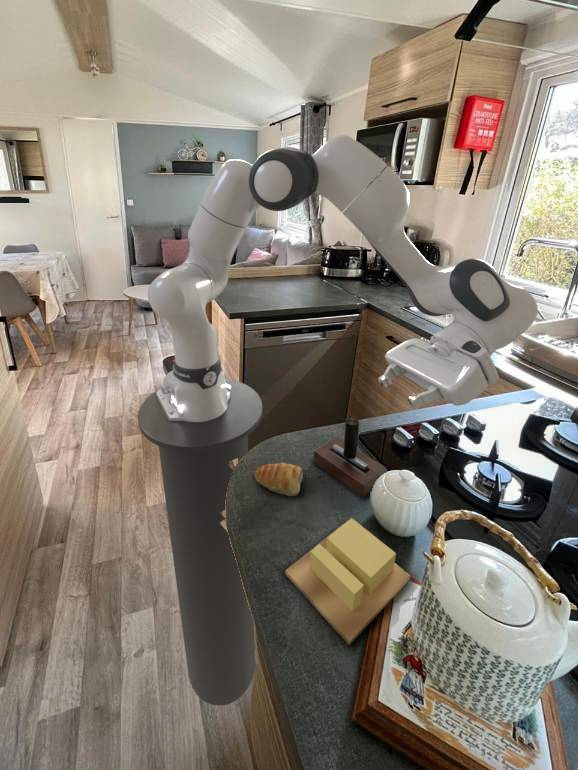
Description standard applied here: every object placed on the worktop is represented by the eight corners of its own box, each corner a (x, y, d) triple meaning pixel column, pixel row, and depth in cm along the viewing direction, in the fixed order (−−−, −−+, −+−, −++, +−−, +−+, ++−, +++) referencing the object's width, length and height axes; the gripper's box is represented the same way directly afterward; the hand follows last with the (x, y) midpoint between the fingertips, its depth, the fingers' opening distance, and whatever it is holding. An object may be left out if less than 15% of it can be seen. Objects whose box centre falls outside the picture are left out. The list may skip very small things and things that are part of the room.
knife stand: (313, 462, 80) (314, 450, 79) (336, 448, 84) (336, 436, 83) (362, 498, 71) (364, 485, 70) (385, 480, 75) (387, 468, 74)
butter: (325, 554, 60) (326, 537, 58) (350, 533, 63) (351, 517, 62) (369, 595, 54) (371, 577, 52) (393, 570, 57) (396, 553, 56)
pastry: (250, 490, 73) (250, 474, 72) (258, 466, 80) (258, 451, 78) (299, 499, 71) (299, 483, 70) (303, 474, 77) (304, 459, 76)
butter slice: (309, 567, 58) (310, 551, 56) (318, 560, 59) (319, 543, 57) (352, 612, 52) (354, 594, 50) (362, 602, 53) (364, 585, 51)
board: (284, 574, 58) (285, 570, 57) (344, 525, 65) (345, 522, 65) (349, 645, 49) (349, 641, 48) (409, 579, 56) (410, 575, 56)
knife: (329, 463, 80) (332, 414, 76) (337, 458, 81) (340, 409, 77) (360, 485, 74) (365, 433, 70) (368, 479, 75) (374, 428, 71)
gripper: (413, 324, 80) (359, 362, 79) (494, 353, 60) (424, 403, 59) (425, 347, 81) (373, 384, 81) (507, 383, 62) (439, 432, 61)
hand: (395, 393), depth 70 cm, fingers open, 8 cm apart
